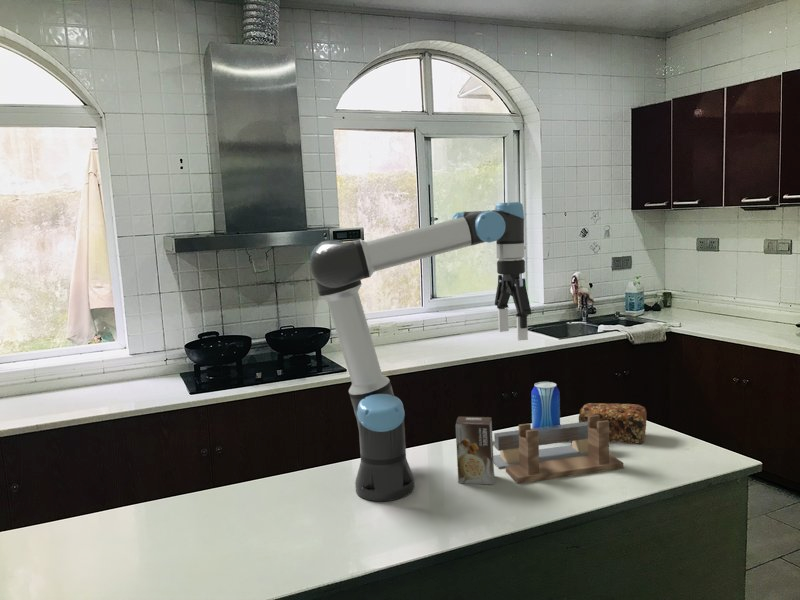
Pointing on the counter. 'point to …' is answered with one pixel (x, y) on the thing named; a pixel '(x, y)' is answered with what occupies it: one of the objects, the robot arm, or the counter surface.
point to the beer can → (545, 405)
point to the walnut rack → (563, 467)
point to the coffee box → (474, 450)
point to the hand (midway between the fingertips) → (512, 335)
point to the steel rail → (544, 435)
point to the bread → (619, 420)
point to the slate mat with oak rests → (543, 453)
